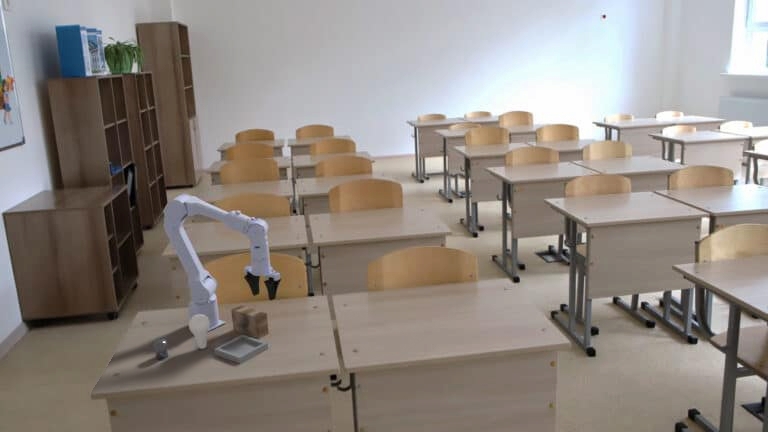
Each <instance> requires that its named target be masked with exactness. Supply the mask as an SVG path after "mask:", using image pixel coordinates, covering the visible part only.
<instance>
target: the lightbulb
mask: <svg viewBox="0 0 768 432" xmlns="http://www.w3.org/2000/svg"><path fill="white" fill-rule="evenodd" d="M188 324H189V325H188V328H189V330H190V332H191V334H192V335H194V338H195V341H196V344H197V348H198V349H202V350H203V349H205V348H206V347H207V336H208V335H207V334H208V332H209V331H208V330H209V327H210V321H209V319H208V318H207V317H206V316H205V315H202V314H197V315H195V316H193V317H192V318H191V319H190V318H189V321H188Z"/></svg>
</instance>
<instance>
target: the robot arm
mask: <svg viewBox="0 0 768 432" xmlns="http://www.w3.org/2000/svg"><path fill="white" fill-rule="evenodd" d="M162 212H163V216H164V218H163V230H164V231H165V234H166V235H167V237H168V240H169V241H170V243H171V245H172V247H173V250H174V251H175V253H176V255H177V257H178V260H179V261H180V263H181V266H182V268H183V269H184V271H185V273H186V275H187V277H188V282H187V283H188V284H187V286H188V288H189V292H190V298H191V300H190V301H189V303H188V314H189V315H188V316H189V320H190V319H191V318H192V317H193V316H195V315H197V314H202V315H205V316H206V317H207V318H208V319H209V321H210V327H209V330H208V332H209V331H212V330H214V329H215V328H218V327H220V326H223V325H224V324H226V321H224V320H221V319H220V316H219V307H218V299H217V295H216V291H217V290H218V282H217V280H216V278H214V277H213V276H211V274H210V272H209V270H207V269H205V268H204V267H203V264H202V263H201V261H200V258H199V256H198V255H197V253H196V251H195V249H194V246H193V245H192V243H191V241H190V238H189V236H188V234H187V232H186V230H185V228H184V226H183V225H184V223H185V221H186V219H187V217H191V216H196V215H201V216H205V217H207V218H211V219H213V220H217V221H219V222H221V223H223V224H224V225H225V227H226V228H228V229H229V230H232V231H234V232H236V233H240V234H241V235H245V236H247V238H248V240H249V243H250V244H249V247H250V257H251V265H248V266H247V265H246V266H245V267H244V268H243V269H244V271H243V272H244V274H245V275H244V276H243V278H244V280H245V282H246V283H247V284H248V286H249V288H250V291H251V293H252V296H254V297H255V296H257V295H259V294H260V279H261V277H264V278H268V279H266V280H264V281H263V283H264V285H265V287H266V290H267V294H268V295H267V296H268V300H269V301H273V300H276V298H277V291H278V289H279V285H280V282H281V281H282V277H281V273H280V272H277V271H275V270H274V269H273V266H271V260H270V259H271V258H270V250H269V249H270V248H269V241H268V235H267V234H268V232H269V224H268V222H267V221H266V220H264V219H262V218H260V217H259V218H256V217H254V216H252V217H250V216H249V215H247V214H243V213H242V211H240V210H238V209H237V210H231V211H230V212H228V211H226V210H224V209H221V208H219V207H217V206H215V205H213V204H211V203H209V202H206V201H204V200H202V199H200V198H198V197H197V196H194V195H190V194H189V193H180V194H178V195H177V196H176V197H175V198H172V199H170V200H169V201H168V202H167V203H166V205H165V207H164V209H163V211H162ZM188 326H189V323H188Z"/></svg>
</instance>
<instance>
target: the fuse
mask: <svg viewBox="0 0 768 432" xmlns="http://www.w3.org/2000/svg"><path fill="white" fill-rule="evenodd" d="M167 341H168V340H167V339H165V338H159V339H156V340H154V342H153V347H154V355H155V359H156V360H157V361H162V360H163V361H164V360H166V359H168V358H169V357H170V356H169V349H168V342H167Z"/></svg>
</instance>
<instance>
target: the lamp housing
mask: <svg viewBox="0 0 768 432" xmlns="http://www.w3.org/2000/svg"><path fill="white" fill-rule="evenodd" d="M230 311H231V321H232V327H233V329H232V330H233V331H236V332H239V333H243V334H244V335H248V336H250V337H251V336H252V337H254V338H256V339H257V338H258V339H261V338H263V337H265V336H267V335H269V324H268V314H267V312H265V311H261V310H257V309H255V308H252V307H246V306H244V305H238V306H236V307H234V308H232V309H230Z"/></svg>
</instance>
